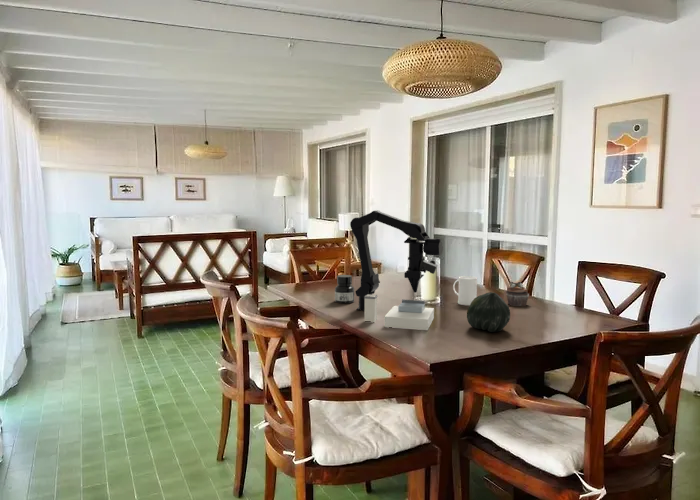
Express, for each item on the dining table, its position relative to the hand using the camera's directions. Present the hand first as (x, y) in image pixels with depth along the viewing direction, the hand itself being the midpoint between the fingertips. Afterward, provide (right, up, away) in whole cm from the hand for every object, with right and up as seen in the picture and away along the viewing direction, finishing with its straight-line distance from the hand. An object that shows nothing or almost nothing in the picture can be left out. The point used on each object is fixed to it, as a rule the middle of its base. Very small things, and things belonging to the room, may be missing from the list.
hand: (415, 292), depth 203 cm
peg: (-19, -10, -10) cm, 23 cm away
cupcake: (+49, -7, +21) cm, 53 cm away
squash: (+24, -12, -22) cm, 34 cm away
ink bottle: (-29, -7, +25) cm, 39 cm away
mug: (+25, -7, +23) cm, 35 cm away
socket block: (-4, -11, -12) cm, 16 cm away
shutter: (-2, -6, -9) cm, 11 cm away
